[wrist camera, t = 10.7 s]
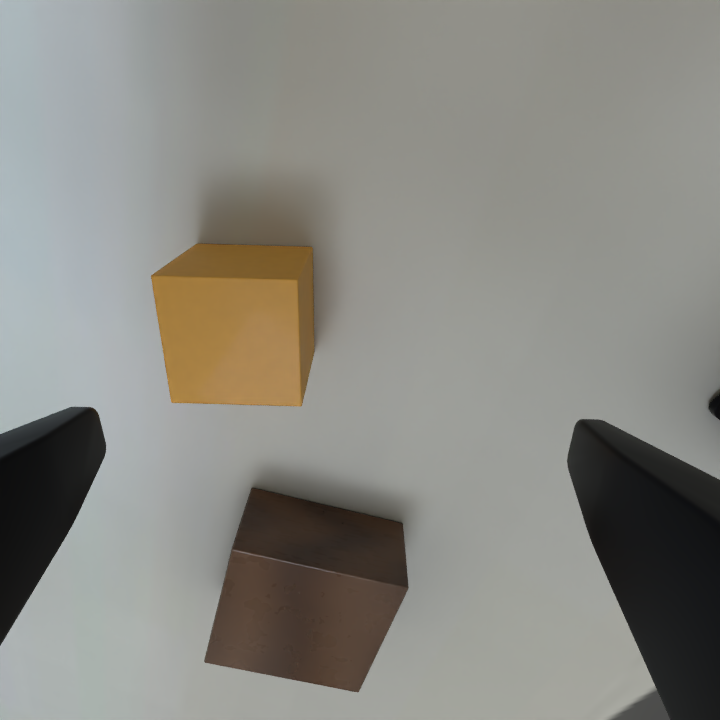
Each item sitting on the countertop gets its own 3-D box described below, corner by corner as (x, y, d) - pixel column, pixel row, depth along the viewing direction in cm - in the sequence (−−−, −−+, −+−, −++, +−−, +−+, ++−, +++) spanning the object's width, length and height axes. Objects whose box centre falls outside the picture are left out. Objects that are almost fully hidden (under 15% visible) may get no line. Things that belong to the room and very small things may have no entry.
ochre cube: (312, 246, 19) (298, 279, 15) (314, 352, 21) (301, 406, 17) (196, 243, 19) (150, 275, 15) (209, 349, 21) (170, 403, 17)
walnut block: (403, 523, 26) (409, 588, 22) (359, 622, 29) (358, 693, 25) (251, 487, 25) (231, 548, 21) (224, 593, 28) (203, 663, 24)
